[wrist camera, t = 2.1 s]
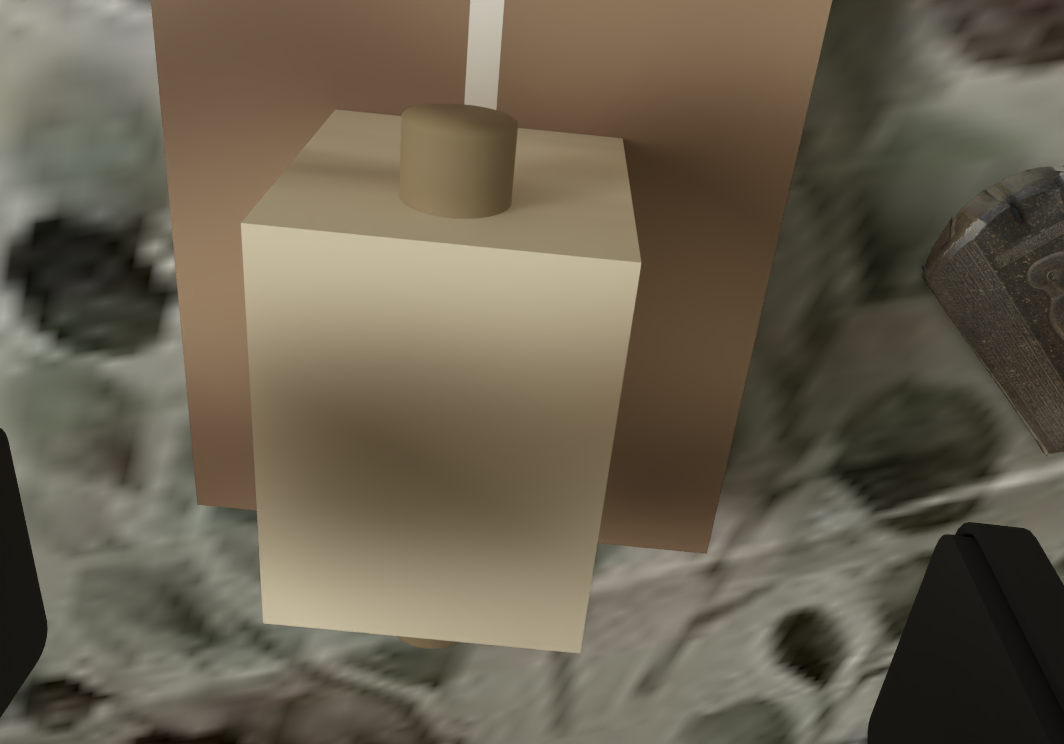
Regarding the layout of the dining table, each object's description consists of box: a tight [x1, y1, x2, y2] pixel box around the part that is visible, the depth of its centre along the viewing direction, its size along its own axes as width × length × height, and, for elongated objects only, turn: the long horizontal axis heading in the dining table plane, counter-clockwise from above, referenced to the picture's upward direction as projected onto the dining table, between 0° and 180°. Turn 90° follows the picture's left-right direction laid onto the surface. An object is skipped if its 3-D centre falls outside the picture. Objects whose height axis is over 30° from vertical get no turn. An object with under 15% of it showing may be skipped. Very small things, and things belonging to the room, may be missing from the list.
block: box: [922, 166, 1064, 456], centre depth 19 cm, size 4×6×2 cm, turn 38°
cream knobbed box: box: [241, 103, 641, 653], centre depth 15 cm, size 8×4×5 cm, turn 175°
